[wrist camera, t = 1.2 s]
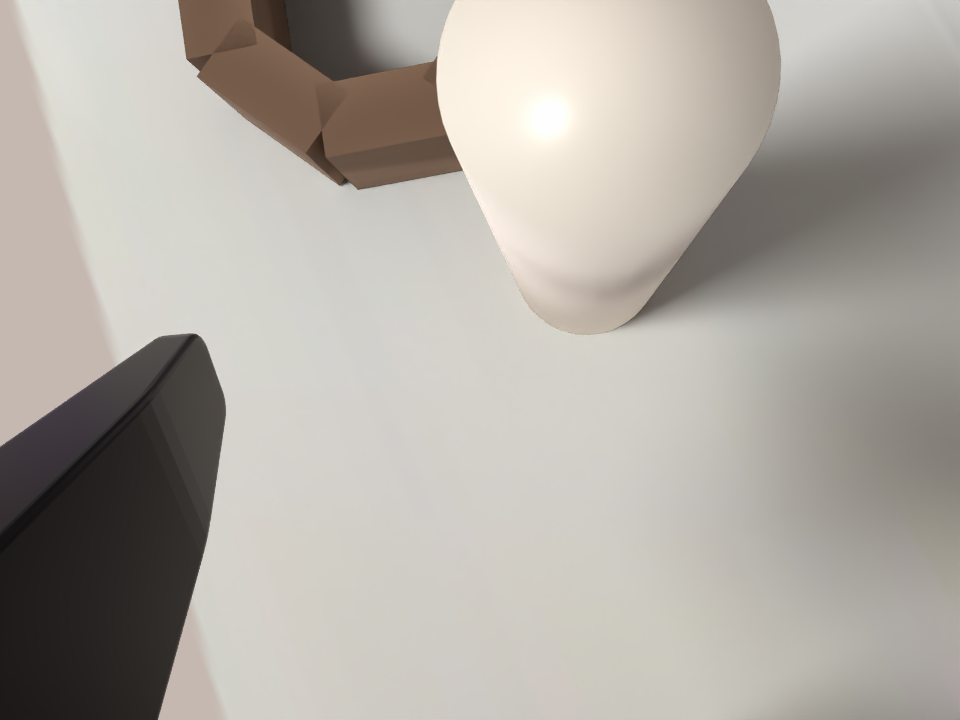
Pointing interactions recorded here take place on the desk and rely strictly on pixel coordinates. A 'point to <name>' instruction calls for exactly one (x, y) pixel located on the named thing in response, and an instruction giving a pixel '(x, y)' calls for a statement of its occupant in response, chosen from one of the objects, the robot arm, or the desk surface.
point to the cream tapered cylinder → (603, 136)
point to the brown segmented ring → (318, 97)
